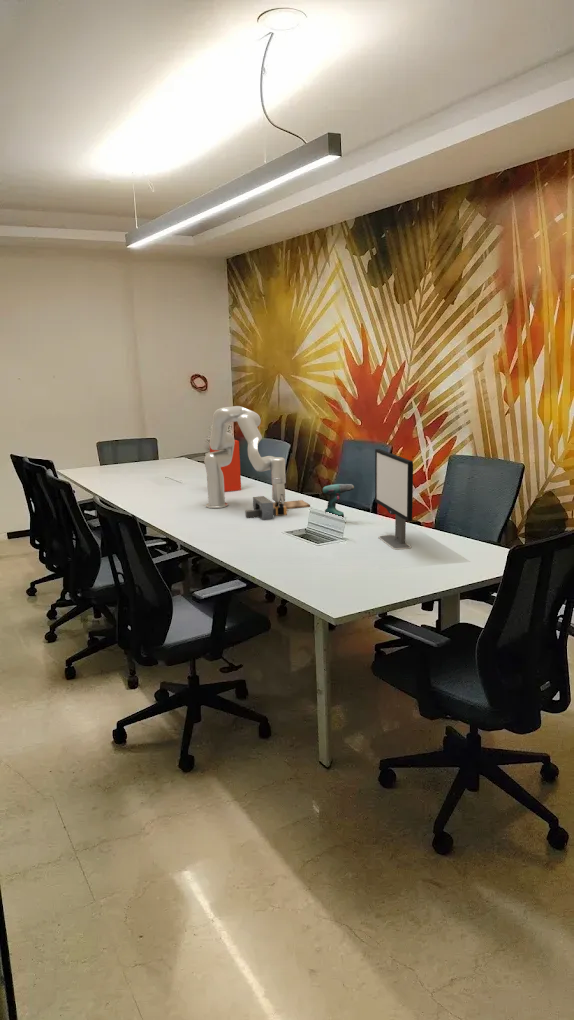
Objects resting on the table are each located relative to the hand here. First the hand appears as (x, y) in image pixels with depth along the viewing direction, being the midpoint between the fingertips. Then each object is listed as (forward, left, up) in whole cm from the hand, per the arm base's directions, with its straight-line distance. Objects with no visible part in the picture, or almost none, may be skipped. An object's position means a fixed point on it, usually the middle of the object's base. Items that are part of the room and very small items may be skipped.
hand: (279, 513), depth 354 cm
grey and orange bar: (+4, -7, -1) cm, 8 cm away
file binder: (-61, -49, -1) cm, 79 cm away
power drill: (+14, +34, -1) cm, 37 cm away
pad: (-19, -1, -1) cm, 19 cm away
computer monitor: (+49, +64, -1) cm, 80 cm away
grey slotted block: (+5, -8, -1) cm, 9 cm away
